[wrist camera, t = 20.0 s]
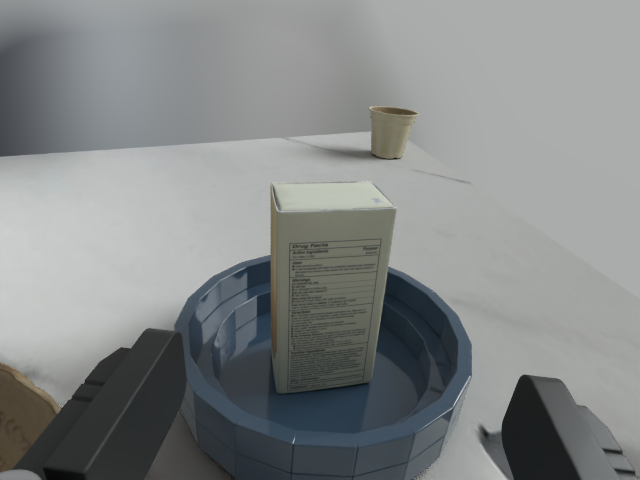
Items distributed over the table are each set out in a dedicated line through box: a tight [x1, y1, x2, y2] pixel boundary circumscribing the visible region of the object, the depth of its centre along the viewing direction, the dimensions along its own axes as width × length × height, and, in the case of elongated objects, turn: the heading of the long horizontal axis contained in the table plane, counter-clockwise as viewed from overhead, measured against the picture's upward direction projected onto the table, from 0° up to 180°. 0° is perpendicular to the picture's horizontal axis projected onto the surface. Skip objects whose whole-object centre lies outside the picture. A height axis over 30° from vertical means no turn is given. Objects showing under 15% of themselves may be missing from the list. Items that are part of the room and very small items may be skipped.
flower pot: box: [369, 106, 419, 159], centre depth 79 cm, size 9×9×9 cm
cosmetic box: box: [271, 181, 397, 394], centre depth 24 cm, size 6×4×12 cm
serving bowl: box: [174, 255, 472, 480], centre depth 26 cm, size 18×18×4 cm
